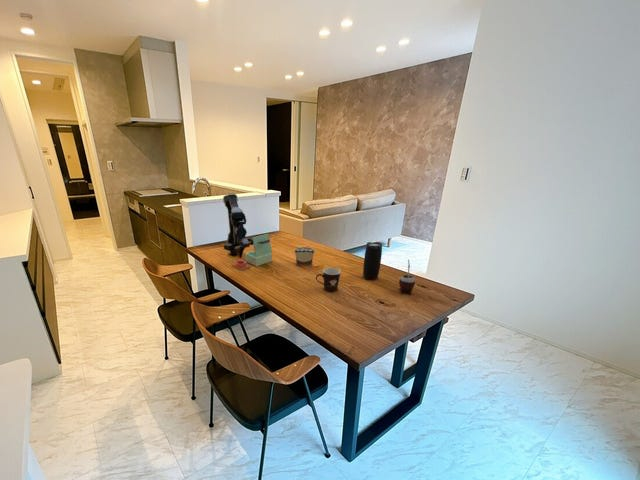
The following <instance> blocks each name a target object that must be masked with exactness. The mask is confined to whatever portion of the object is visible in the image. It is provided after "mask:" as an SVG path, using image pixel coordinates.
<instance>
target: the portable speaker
mask: <svg viewBox="0 0 640 480" xmlns="http://www.w3.org/2000/svg"><path fill="white" fill-rule="evenodd" d="M382 255H383V243H382V242H378V241H377V242H376V241H375V242H371V241H368V242H366V247H365V251H364V258H363V267H362V268H363V269H362V278H363V279H364V280H367V279H371V280H373V281H376V280H378V279H379V278H378V277H379V273H380V269H381V263H382Z"/></svg>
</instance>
